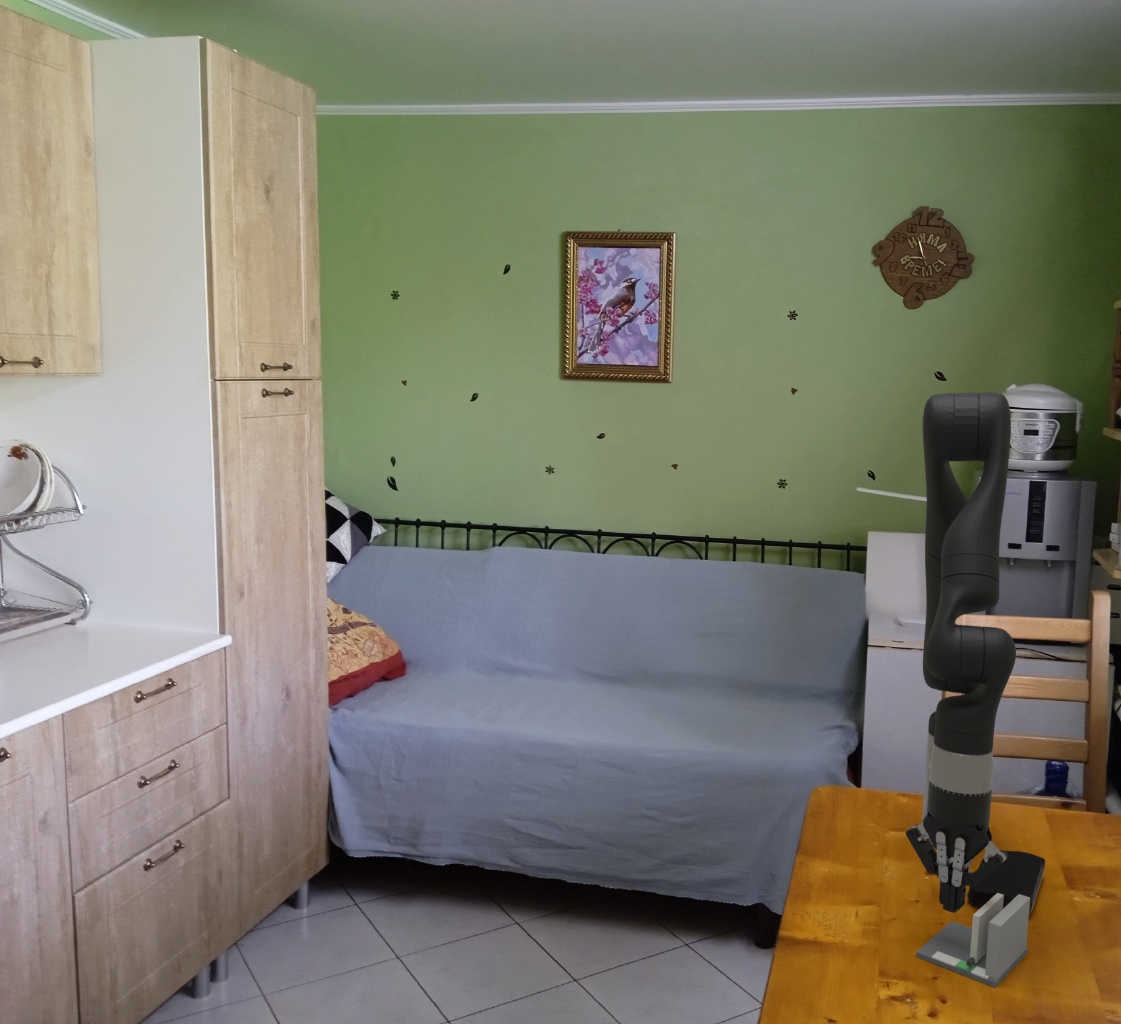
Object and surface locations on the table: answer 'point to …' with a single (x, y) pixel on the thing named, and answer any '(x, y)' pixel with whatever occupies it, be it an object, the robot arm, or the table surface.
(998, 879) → the black sponge
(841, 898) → the table surface
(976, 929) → the panel
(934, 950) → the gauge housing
